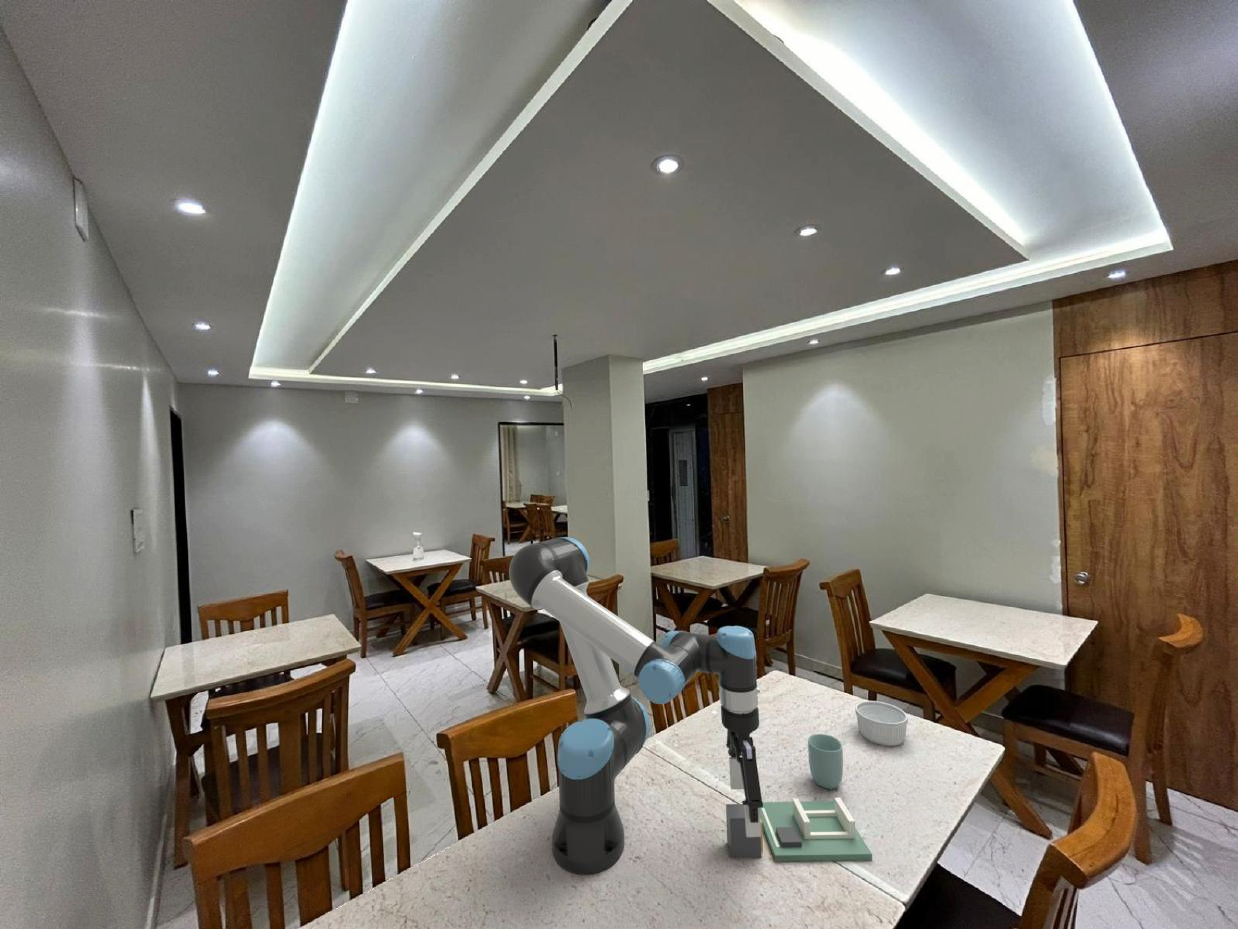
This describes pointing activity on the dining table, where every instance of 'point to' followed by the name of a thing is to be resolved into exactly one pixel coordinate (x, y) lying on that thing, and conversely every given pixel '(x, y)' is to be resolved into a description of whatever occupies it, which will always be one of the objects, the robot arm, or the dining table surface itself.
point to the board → (812, 831)
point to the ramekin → (881, 722)
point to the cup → (825, 760)
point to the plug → (741, 834)
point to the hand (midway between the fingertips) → (744, 810)
